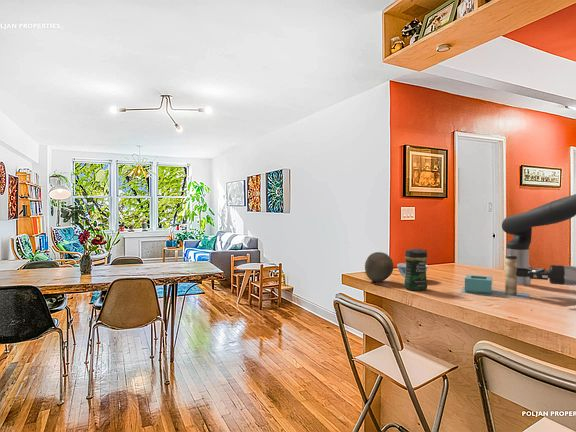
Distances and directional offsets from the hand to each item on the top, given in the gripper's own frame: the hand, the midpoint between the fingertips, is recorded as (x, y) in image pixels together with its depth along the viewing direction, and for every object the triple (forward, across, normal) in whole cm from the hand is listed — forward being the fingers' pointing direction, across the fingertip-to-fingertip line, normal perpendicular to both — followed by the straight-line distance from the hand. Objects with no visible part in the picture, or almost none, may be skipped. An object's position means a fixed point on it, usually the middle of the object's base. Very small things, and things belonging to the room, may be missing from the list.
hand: (516, 271), depth 153 cm
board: (+8, 0, +10) cm, 13 cm away
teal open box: (+14, 0, +10) cm, 17 cm away
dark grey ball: (+59, -5, +11) cm, 60 cm away
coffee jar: (+39, +3, +11) cm, 41 cm away
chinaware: (+46, -18, +11) cm, 50 cm away
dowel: (+2, 0, +10) cm, 10 cm away
